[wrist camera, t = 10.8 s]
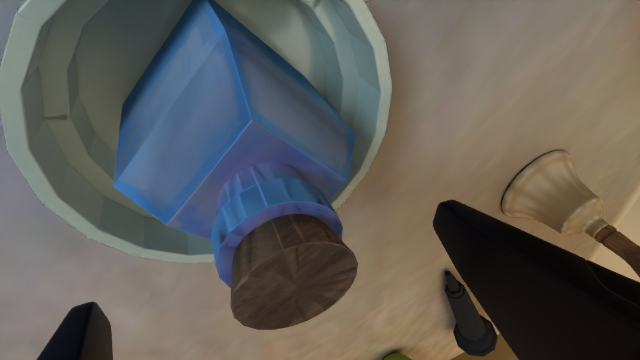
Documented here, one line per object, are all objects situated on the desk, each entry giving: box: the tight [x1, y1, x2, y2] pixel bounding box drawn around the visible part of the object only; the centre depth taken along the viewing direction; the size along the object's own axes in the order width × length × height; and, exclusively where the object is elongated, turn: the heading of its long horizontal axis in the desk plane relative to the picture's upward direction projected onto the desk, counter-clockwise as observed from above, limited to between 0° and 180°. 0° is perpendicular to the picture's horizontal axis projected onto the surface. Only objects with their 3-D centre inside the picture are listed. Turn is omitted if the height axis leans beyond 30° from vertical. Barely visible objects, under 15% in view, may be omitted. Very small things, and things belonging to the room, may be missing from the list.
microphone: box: [445, 271, 498, 356], centre depth 45 cm, size 6×6×20 cm
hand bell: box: [502, 150, 640, 277], centre depth 29 cm, size 8×8×16 cm
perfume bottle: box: [113, 0, 358, 330], centre depth 13 cm, size 6×6×12 cm
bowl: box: [0, 0, 393, 264], centre depth 16 cm, size 14×14×5 cm
